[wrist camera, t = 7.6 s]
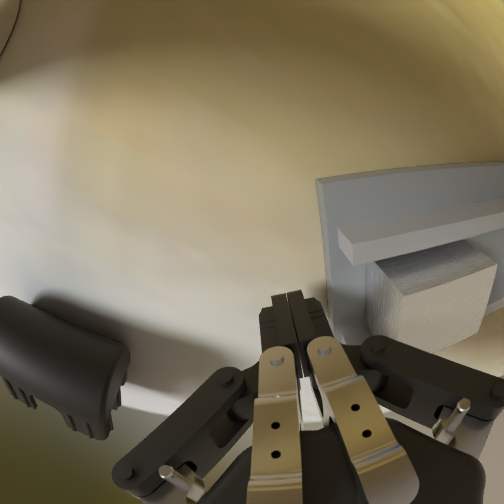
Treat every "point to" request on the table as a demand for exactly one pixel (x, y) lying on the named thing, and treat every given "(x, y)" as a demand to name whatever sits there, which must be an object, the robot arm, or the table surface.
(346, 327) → the gauge board
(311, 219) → the table surface
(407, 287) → the grey textured block
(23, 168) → the table surface
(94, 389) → the end cap
